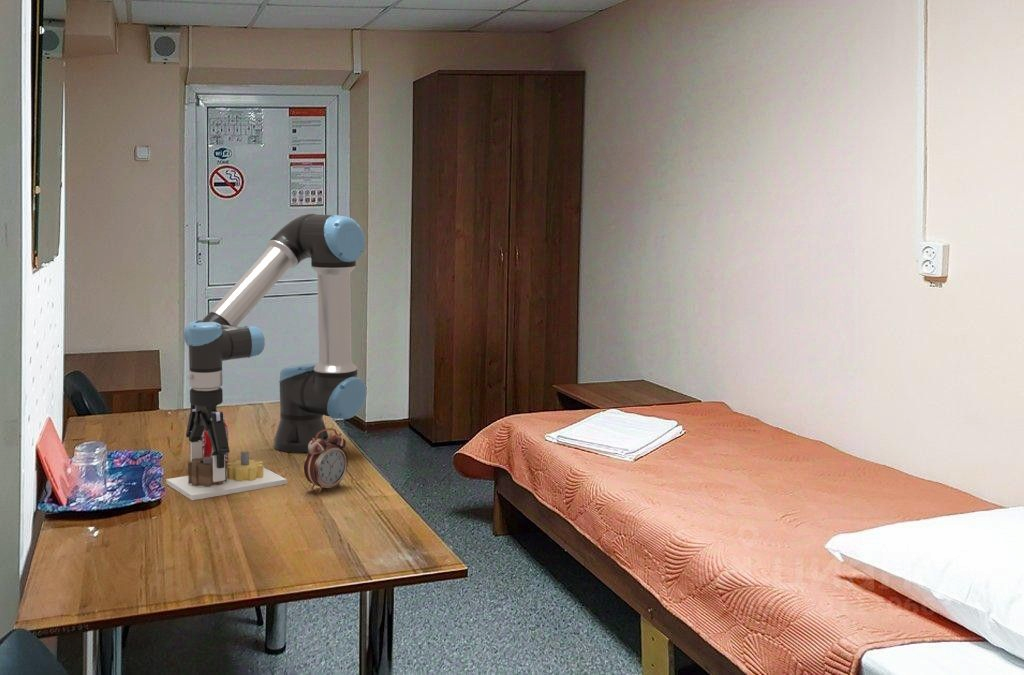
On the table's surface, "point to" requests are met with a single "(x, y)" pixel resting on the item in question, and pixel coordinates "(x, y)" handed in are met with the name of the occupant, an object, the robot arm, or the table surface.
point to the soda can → (207, 445)
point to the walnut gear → (202, 473)
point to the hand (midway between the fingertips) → (207, 474)
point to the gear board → (230, 480)
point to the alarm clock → (326, 461)
